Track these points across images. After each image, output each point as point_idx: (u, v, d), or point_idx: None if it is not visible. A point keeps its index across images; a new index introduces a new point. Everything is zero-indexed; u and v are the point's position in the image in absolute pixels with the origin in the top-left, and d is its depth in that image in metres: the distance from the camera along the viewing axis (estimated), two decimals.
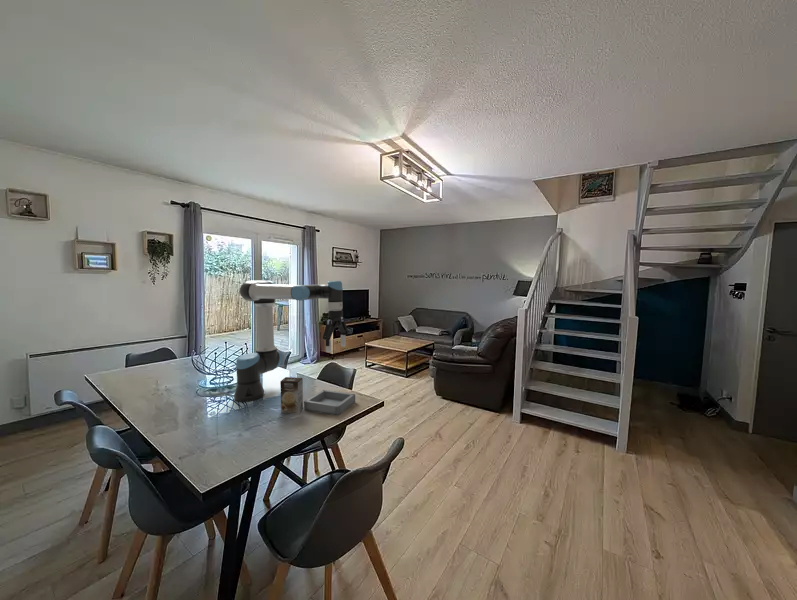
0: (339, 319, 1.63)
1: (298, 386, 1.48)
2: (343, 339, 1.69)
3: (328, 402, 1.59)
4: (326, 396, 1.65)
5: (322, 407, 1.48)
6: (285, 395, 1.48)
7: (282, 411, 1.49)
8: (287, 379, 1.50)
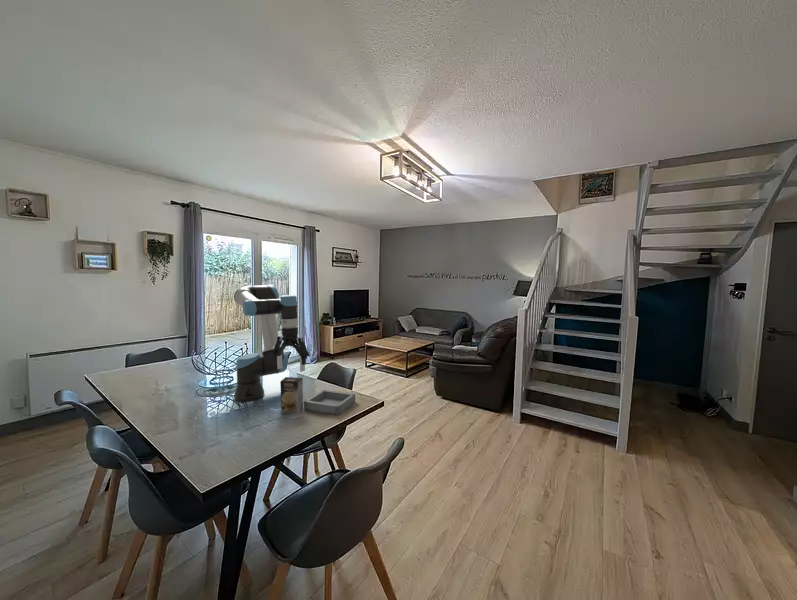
0: (291, 338, 1.47)
1: (298, 386, 1.48)
2: None
3: (328, 402, 1.59)
4: (326, 396, 1.65)
5: (322, 407, 1.48)
6: (285, 395, 1.48)
7: (282, 411, 1.49)
8: (287, 379, 1.50)
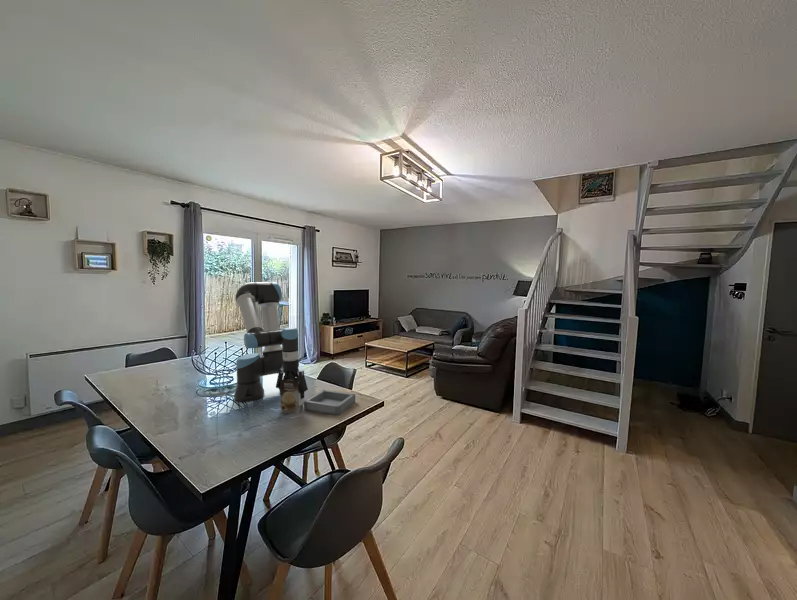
0: (292, 370, 1.48)
1: None
2: None
3: (328, 402, 1.59)
4: (326, 396, 1.65)
5: (322, 407, 1.48)
6: (285, 395, 1.48)
7: (282, 411, 1.49)
8: (287, 379, 1.50)
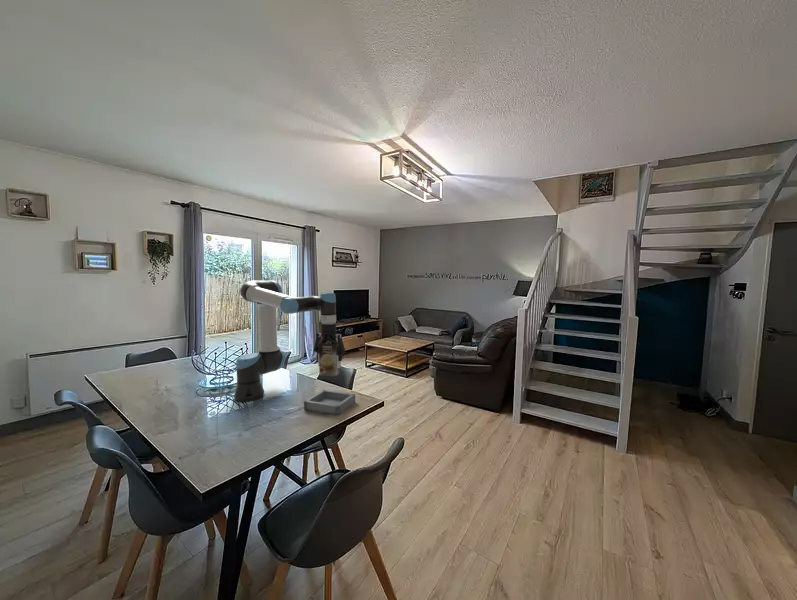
0: (330, 333, 1.52)
1: (336, 349, 1.51)
2: None
3: (328, 402, 1.59)
4: (326, 396, 1.65)
5: (322, 407, 1.48)
6: (324, 358, 1.52)
7: (320, 373, 1.53)
8: (325, 342, 1.54)
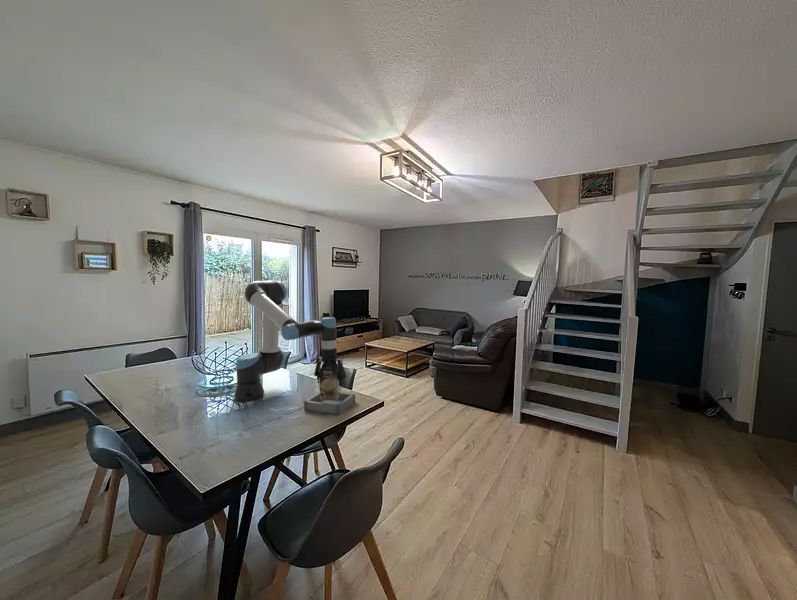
0: (331, 358, 1.53)
1: (336, 374, 1.52)
2: None
3: (328, 402, 1.59)
4: None
5: (322, 407, 1.48)
6: (324, 383, 1.53)
7: (321, 398, 1.53)
8: (325, 367, 1.55)
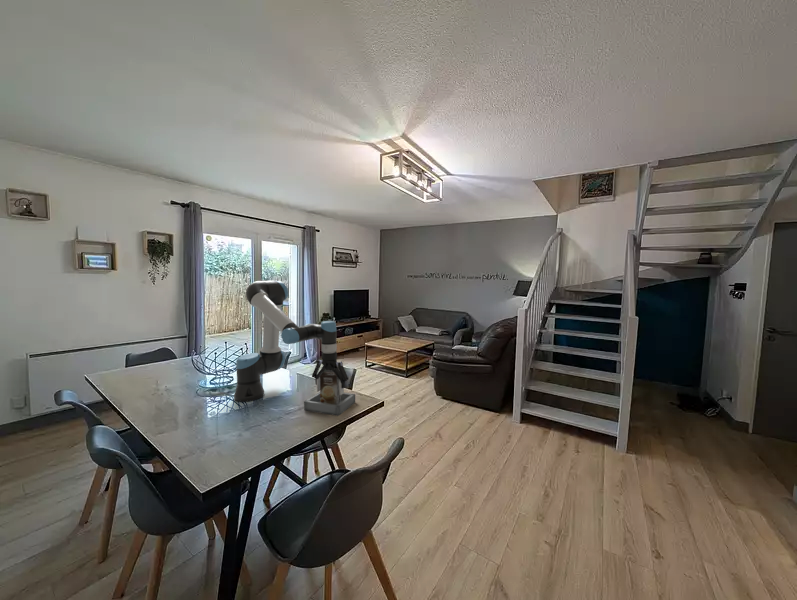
0: (331, 362, 1.53)
1: (337, 380, 1.52)
2: None
3: None
4: None
5: (322, 407, 1.48)
6: (324, 389, 1.53)
7: None
8: (326, 374, 1.55)
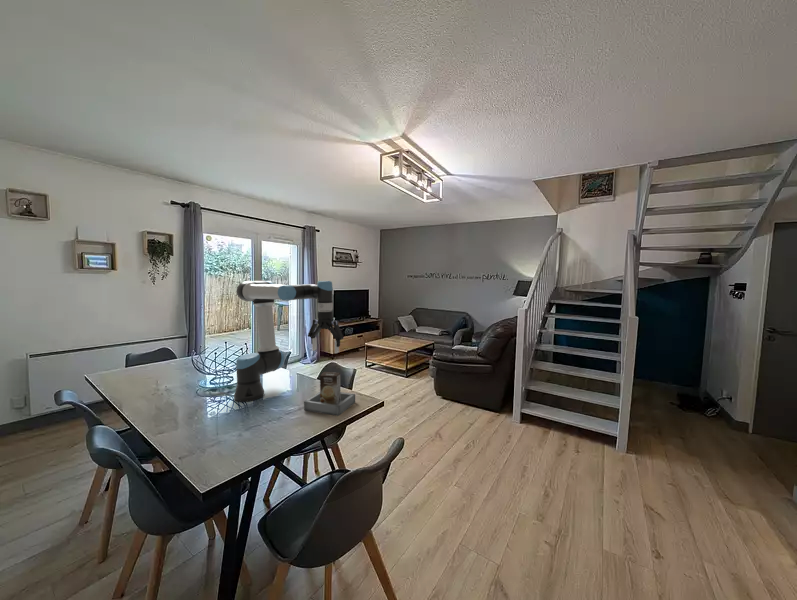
0: (327, 321, 1.55)
1: (337, 380, 1.52)
2: None
3: None
4: None
5: (322, 407, 1.48)
6: (324, 389, 1.53)
7: None
8: (326, 373, 1.55)
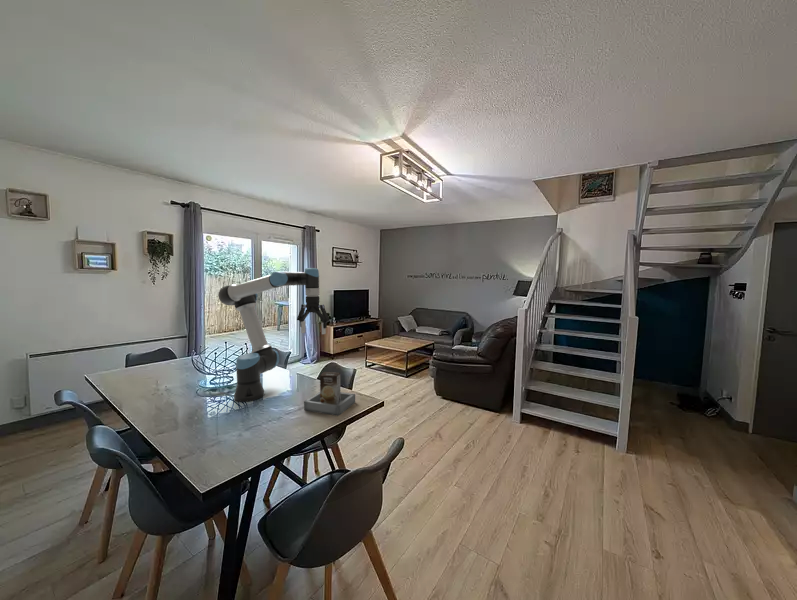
0: (314, 305, 1.69)
1: (337, 380, 1.52)
2: None
3: None
4: None
5: (322, 407, 1.48)
6: (324, 389, 1.53)
7: None
8: (326, 373, 1.55)
